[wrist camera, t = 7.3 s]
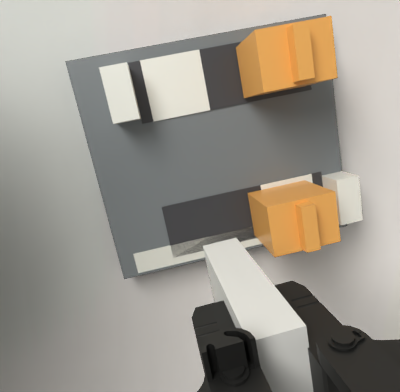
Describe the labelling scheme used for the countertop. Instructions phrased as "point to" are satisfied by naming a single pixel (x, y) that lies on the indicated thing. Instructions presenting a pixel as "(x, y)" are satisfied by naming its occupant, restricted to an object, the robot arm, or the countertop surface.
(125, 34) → the countertop surface
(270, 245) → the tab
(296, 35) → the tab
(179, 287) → the countertop surface
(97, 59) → the switch board
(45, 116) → the countertop surface
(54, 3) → the countertop surface
